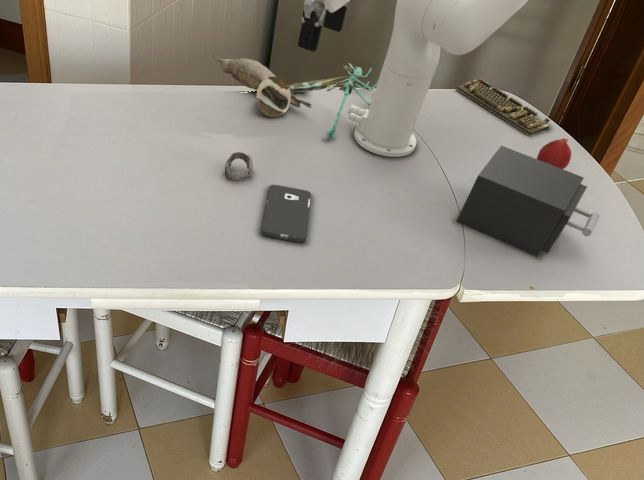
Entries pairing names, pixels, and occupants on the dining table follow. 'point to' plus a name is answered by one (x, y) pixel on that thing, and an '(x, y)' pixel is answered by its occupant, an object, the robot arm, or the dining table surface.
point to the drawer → (565, 221)
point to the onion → (556, 153)
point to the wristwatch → (243, 173)
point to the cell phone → (286, 213)
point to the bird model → (252, 75)
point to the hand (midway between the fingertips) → (319, 38)
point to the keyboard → (503, 106)
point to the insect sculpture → (330, 83)
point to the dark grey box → (519, 200)
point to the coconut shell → (273, 96)
